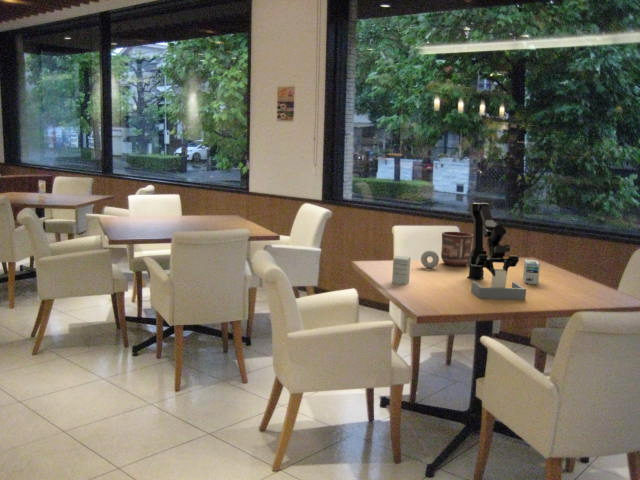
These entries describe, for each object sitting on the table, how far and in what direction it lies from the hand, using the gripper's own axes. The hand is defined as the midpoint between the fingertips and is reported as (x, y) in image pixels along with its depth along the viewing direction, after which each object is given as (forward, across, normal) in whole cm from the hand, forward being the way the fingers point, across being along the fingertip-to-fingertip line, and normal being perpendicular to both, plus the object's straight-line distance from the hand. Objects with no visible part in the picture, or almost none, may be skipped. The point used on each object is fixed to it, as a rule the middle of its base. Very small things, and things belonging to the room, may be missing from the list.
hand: (500, 275), depth 289 cm
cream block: (+4, 0, +6) cm, 7 cm away
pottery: (-44, -1, +58) cm, 73 cm away
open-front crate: (+6, 0, +8) cm, 10 cm away
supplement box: (-9, -42, +23) cm, 48 cm away
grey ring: (-35, -19, +49) cm, 63 cm away
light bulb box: (-16, +27, +30) cm, 43 cm away
